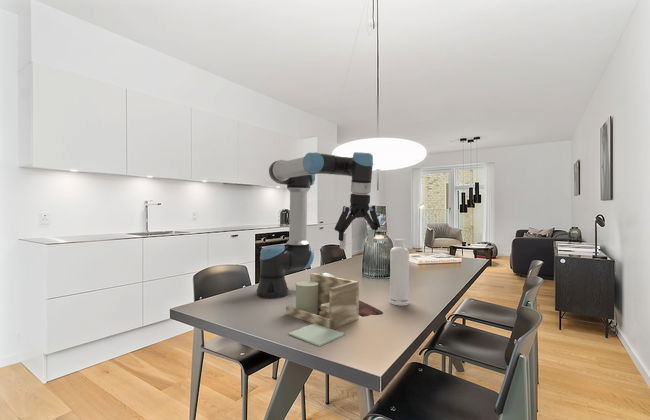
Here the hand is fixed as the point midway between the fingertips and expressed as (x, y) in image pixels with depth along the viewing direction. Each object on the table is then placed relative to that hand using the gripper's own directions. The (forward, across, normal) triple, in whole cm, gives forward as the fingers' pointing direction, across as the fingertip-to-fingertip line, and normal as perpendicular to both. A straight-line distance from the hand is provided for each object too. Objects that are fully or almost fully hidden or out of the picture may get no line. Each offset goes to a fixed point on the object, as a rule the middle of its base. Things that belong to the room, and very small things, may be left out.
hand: (356, 246), depth 128 cm
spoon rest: (+34, +11, +35) cm, 50 cm away
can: (+28, -17, +7) cm, 33 cm away
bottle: (+28, +24, -2) cm, 37 cm away
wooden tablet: (+29, +5, +4) cm, 29 cm away
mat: (+23, -25, -15) cm, 37 cm away
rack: (+26, -15, 0) cm, 30 cm away
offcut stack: (+25, -13, -7) cm, 29 cm away
